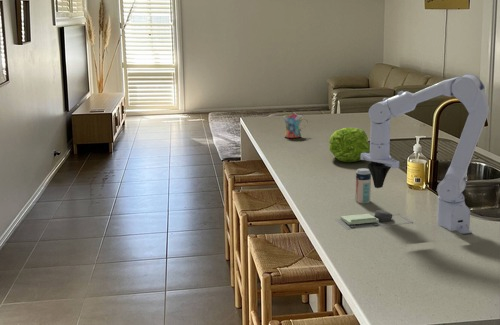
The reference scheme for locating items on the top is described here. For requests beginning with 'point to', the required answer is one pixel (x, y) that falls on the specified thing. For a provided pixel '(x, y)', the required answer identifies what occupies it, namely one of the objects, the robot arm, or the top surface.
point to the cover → (359, 219)
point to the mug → (293, 125)
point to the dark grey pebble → (383, 216)
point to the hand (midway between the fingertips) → (378, 187)
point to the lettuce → (349, 144)
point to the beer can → (363, 185)
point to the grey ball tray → (368, 224)
